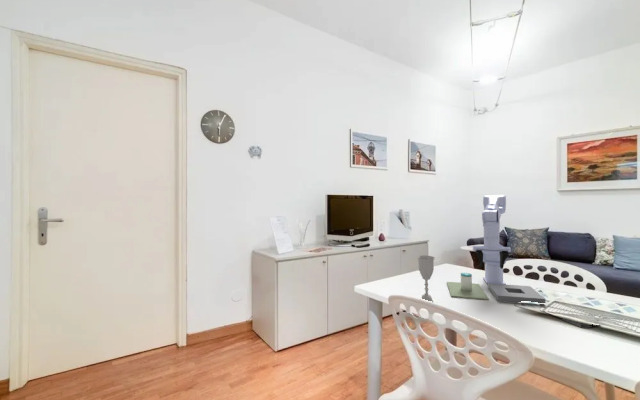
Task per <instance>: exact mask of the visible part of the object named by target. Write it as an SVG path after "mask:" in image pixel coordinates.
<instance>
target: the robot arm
mask: <svg viewBox="0 0 640 400" xmlns="http://www.w3.org/2000/svg"><path fill="white" fill-rule="evenodd" d="M482 204H483V211H482V212H481V213H482V214H481V220H482V227H483V245H472V251H473V252H475V254H476V256H477V259H478V260H479V266H480V268H484V274H485V275H484V276H483V277H482V278H483V280H484V281H485V282H486V283H487V284H488V285H489V284H504V285H507V282H505V281H504V265H505V264H506V263H507V259H508V257H509V255H510V253H512V252H511V251H512V248H511V247H510V246H504V245H502V244H500V231H501V229H500V227H501V225H500V224H501V222H500V219H501V216H502V214H504V213H506V210H507V209H506V208H507V196H506V195H505V194H493V195H492V194H491V195H486V194H485V195H483V200H482ZM484 264H485V265H484Z"/></svg>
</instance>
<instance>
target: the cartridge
mask: <svg viewBox="0 0 640 400" xmlns="http://www.w3.org/2000/svg"><path fill="white" fill-rule="evenodd" d="M472 276H473V275H472V273H468V272H460V283H461V290H463V291H472V283H473V278H472Z"/></svg>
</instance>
